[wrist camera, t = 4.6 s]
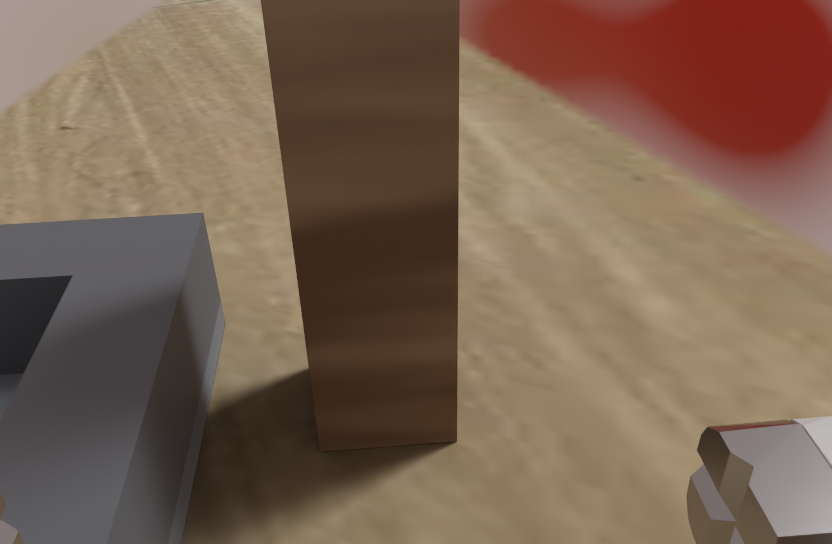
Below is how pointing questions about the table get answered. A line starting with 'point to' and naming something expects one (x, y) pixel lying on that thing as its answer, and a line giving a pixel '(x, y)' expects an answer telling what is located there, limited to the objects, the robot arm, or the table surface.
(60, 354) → the grey socket base
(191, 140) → the table surface
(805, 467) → the robot arm
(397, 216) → the brown rectangular bar
